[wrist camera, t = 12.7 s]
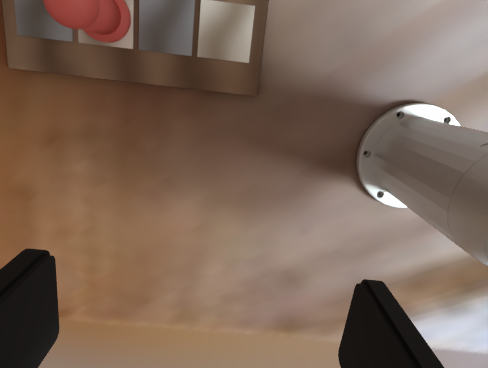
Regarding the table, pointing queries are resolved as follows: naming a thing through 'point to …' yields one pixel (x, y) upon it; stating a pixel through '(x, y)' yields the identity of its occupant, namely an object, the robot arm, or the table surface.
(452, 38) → the table surface
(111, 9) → the pawn
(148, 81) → the board
